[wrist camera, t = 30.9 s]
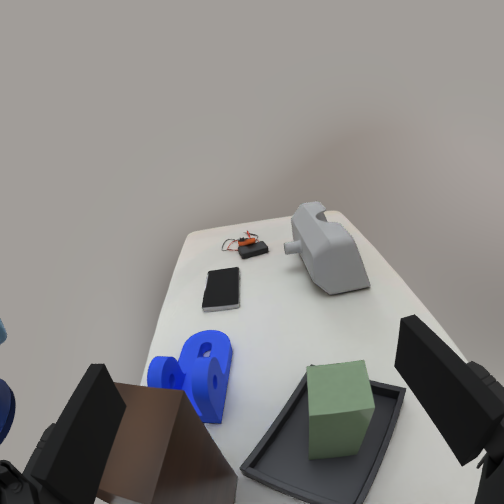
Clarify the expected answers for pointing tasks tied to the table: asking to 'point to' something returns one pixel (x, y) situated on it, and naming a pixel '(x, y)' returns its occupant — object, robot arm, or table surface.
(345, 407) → the green block
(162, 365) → the bracket
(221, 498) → the stand
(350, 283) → the tank
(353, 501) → the tray
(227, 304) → the smartphone
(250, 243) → the multimeter
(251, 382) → the table surface
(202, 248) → the table surface
